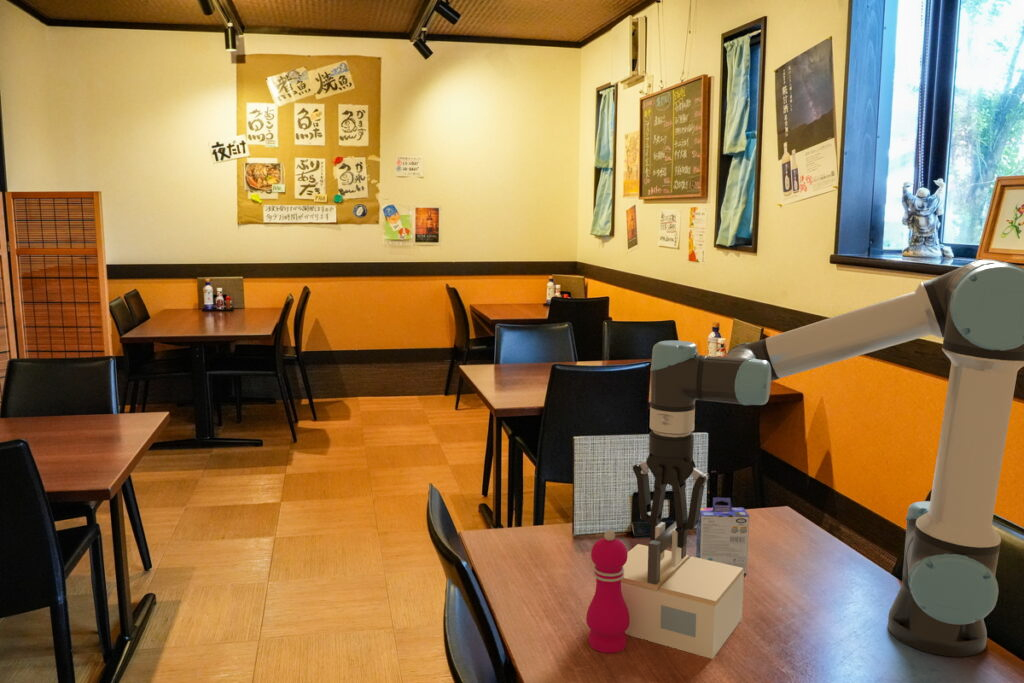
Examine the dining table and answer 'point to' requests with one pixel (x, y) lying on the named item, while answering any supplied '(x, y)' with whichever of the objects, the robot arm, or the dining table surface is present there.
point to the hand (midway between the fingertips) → (667, 561)
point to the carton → (688, 607)
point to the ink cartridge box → (723, 534)
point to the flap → (652, 562)
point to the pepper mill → (608, 596)
